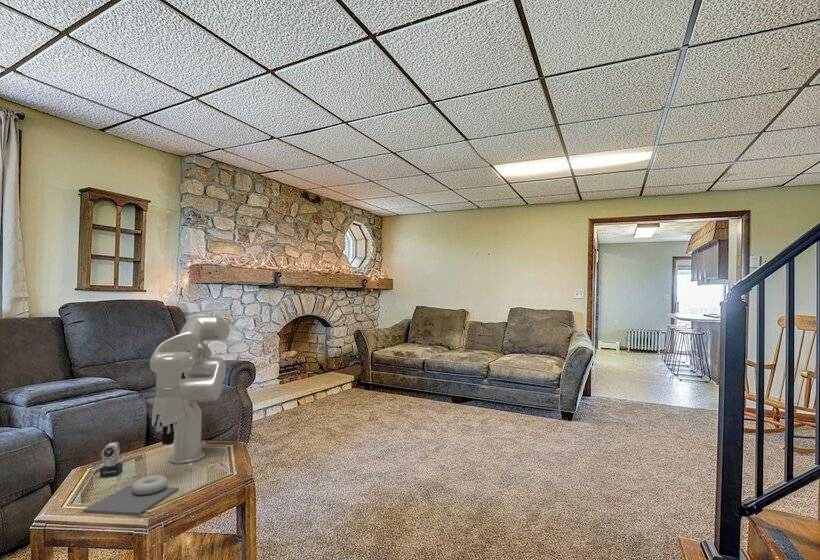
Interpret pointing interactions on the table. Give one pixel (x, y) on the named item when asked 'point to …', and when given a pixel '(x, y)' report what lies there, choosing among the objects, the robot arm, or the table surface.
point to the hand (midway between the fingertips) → (167, 443)
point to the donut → (149, 484)
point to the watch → (111, 461)
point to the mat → (129, 502)
